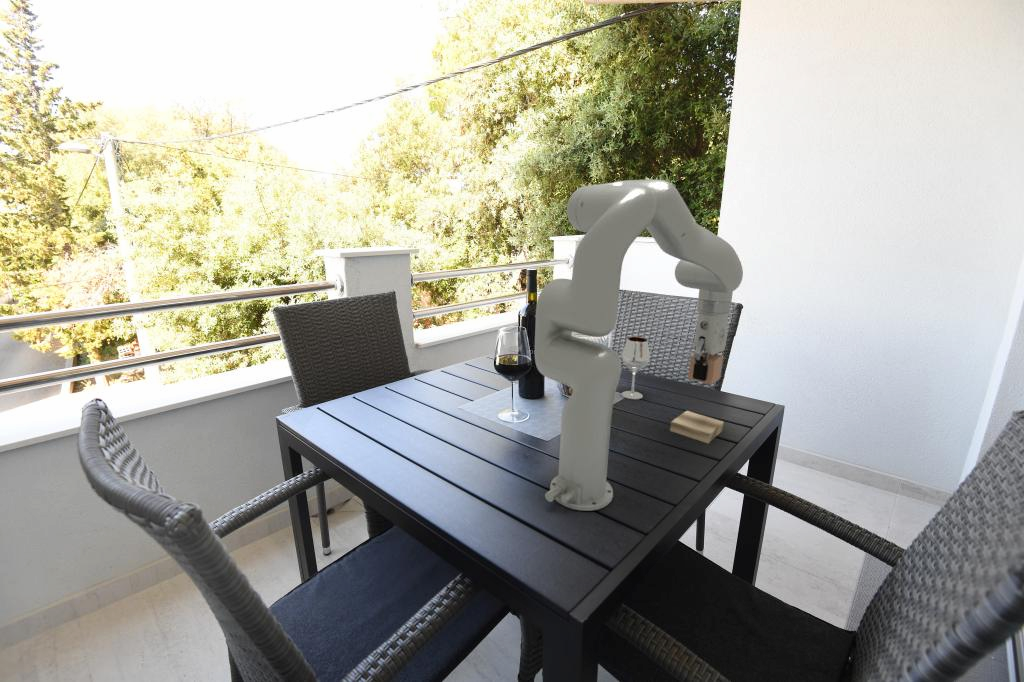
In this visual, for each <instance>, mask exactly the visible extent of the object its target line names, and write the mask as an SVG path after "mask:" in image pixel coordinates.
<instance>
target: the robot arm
mask: <svg viewBox="0 0 1024 682" xmlns="http://www.w3.org/2000/svg"><path fill="white" fill-rule="evenodd" d="M566 216H567V219H568V221H569V223H570V225H571V227H572V228H574V229H575V230H577V231H579V232H582V233H585V234H584V235H583V237H582V238H581V240H580V242H579V244H578V245H577V247H576V250H575V252H574V258H573V266H572V274H571V278H570V279H569V278H556V279H555V278H554V279H553V280H551V281H549V282H548V283H547V284H546V285H545V286H544V287H543V288H542V289H541V290H540V294H539V296H538V298H537V301H536V302H537V303H536V307H535V326H534V327H535V331H534V361H535V365H536V368H537V370H538V372H539V373H540V374H541V375H542V376H544V377H545V378H548V379H549V380H552V381H555V382H557V383H560V384H562V385H565V386H567V387H568V388H570V389H572V393H571V395H570V396H569V398H568V399H566V401H565V402H564V404H563V407H562V410H561V417H560V418H561V420H560V421H561V425H560V440H559V458H558V459H559V460H558V462H559V463H558V475H556V476H555V477H554V478H553V479H551V482H550V485H549V490H548V491H547V492H545V493H544V498H545V500H546V501H548V503H552V502H553V501H556V502H557V503H558V504H560V505H562V506H564V507H565V508H569V509H571V510H577V511H583V512H585V511H588V512H590V511H598V510H601V509H603V508H605V507H606V506H608V505H609V504H610V503H611V502H612V501H613V498H614V490H613V487H612V486H611V484H610V483H609V481H607V476H608V463H609V462H608V461H609V453H610V452H609V451H610V443H611V441H610V440H611V427H612V415H613V409H614V408H613V407H614V403H615V402H614V401H615V396H616V392H617V389H618V386H619V382H620V378H621V376H622V375H621V374H622V361H621V359H620V356H619V355H618V354H617V352H616V351H615V350H613V349H612V348H610V347H608V346H607V345H604V344H603V343H599V342H596V341H593V340H589V339H586V338H581V337H578V336H577V337H576V336H573V333H576V334H579V335H585V336H588V337H593V338H601V337H605V336H608V335H609V334H611V333H612V331H614V329H615V327H616V323H617V320H618V311H619V302H620V301H619V300H620V287H621V277H622V276H621V275H622V270H623V269H622V268H623V262H624V259H625V256H626V255H627V252H628V250H629V249H630V247H631V245H632V244H633V243H634V241H635V240H636V239H638V237H639V236H640V235H641V234H642V233H643V232H644V231H645V230H647V231H648V233H649V234H650V235H651V237H652V238H653V239H654V241H655V243H656V244H657V245H658V247H659V248H660V250H661V251H662V252H663V253H665V254H666V255H669V256H671V257H673V258H676V259H678V260H679V261H678V262H677V264H676V266H675V269H674V277H675V280H676V282H677V283H678V284H680V285H681V286H683V287H685V288H689V289H697V290H699V292H698V297H697V299H698V300H697V307H696V312H698V317H697V322H696V326H695V333H694V339H693V354H694V356H695V361H694V371H693V378H694V379H698V380H702V381H705V380H706V378H707V371H708V365H707V362H708V358H709V354H710V355H714V354H717V355H720V352H721V351H723V350H725V348H726V346H727V336H728V327H729V326H728V324H729V315H730V313H731V308H732V300H733V292H735V291H736V290H737V289H738V288H739V287H740V285H741V284H742V281H743V275H744V269H743V265H742V261H741V260H740V258H739V255H738V254H737V251H736V250H735V248H734V247H733V246H732V245H731V244H730V243H729V242H727V240H725V239H723V238H722V237H720V235H719V236H718V235H717V234H715V233H713V232H712V231H710V230H709V229H707V228H705V227H703V226H701V225H700V224H698V223H697V221H696V220H695V218H694V216H693V214H692V213H691V211H690V209H689V208H688V206H687V204H686V202H685V200H684V198H683V197H682V196H681V193H680V192H679V190H678V189H677V188H676V186H675V184H672V183H671V182H670V181H667V180H664V179H632V180H631V179H629V180H619V181H614V182H608V183H600V184H592V185H591V184H589V185H584V186H581V187H579V188H577V189H576V190H575V191H574V192H572V194H571V195H570V197H569V199H568V202H567V205H566ZM705 352H707V353H705ZM702 355H705V359H704V358H703V356H702Z"/></svg>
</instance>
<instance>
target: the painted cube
mask: <svg viewBox="0 0 1024 682" xmlns="http://www.w3.org/2000/svg"><path fill="white" fill-rule="evenodd" d="M704 352H705V353H707V352H706V351H704ZM702 356H703V358H704V359H705V355H702ZM694 361H695V356H694V353H693V354H692V355H690V359H689V367H688V374H687V375H688V376H687V379H689V380H691V381H695V382H700V383H704V384H707V385H714V384H715V383H717V381H719V380H720V379H721V377H722V376H721V375H722V369H723V363H724V355H721V354H719V355H717V354H714V355H710V354H709V358H708V362H707V365H708V371H707V378H706V380H705V381H702V380H698V379H694V378H693V371H694Z"/></svg>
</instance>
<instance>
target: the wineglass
mask: <svg viewBox="0 0 1024 682" xmlns="http://www.w3.org/2000/svg"><path fill="white" fill-rule="evenodd" d="M650 353H651V352H650V348H649V341H648V339H647V338H644V337H640V336H629V337H628V338H627V340H626V341H625V345H624V347H623V350H622V355H621V359H622V362H623V364H624V365H625V366H626V367H627V368H628V369H629V370H630V372H631V373H632V379H631V388H630V389H631V390H624V391H623V392H622V393H621V396H622V397H623V398H626V399H628V400H640V399H643V397H644V395H643V394H642V393H640V392H638V391H635V382H636V374H637V373H638V372H640V371H641V370H643V369H644V368H645V367H646V366H647V365H648V364H650V360H651V354H650Z"/></svg>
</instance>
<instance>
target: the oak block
mask: <svg viewBox="0 0 1024 682" xmlns="http://www.w3.org/2000/svg"><path fill="white" fill-rule="evenodd" d="M724 426H725V421H722V420H719V419H716V418H713V417H710V416H706V415H703V414H699V413H696V412H694V411H693V412H692V411H690V410H686V411H684V412H683V413H681V414H679V415H678V416H677V417H676V418H674V419H673V420H672V421H670V426H669V427H670V428H669V431H670V432H672V433H676V434H679V435H682V436H684V437H687V438H690V439H693V440H697V441H700V442H702V443H705V444H710V443H711V442H712V441H713V440H714V439H715V438H716V437H718V436H719V434H721V433H722V432H723V430H724Z"/></svg>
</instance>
